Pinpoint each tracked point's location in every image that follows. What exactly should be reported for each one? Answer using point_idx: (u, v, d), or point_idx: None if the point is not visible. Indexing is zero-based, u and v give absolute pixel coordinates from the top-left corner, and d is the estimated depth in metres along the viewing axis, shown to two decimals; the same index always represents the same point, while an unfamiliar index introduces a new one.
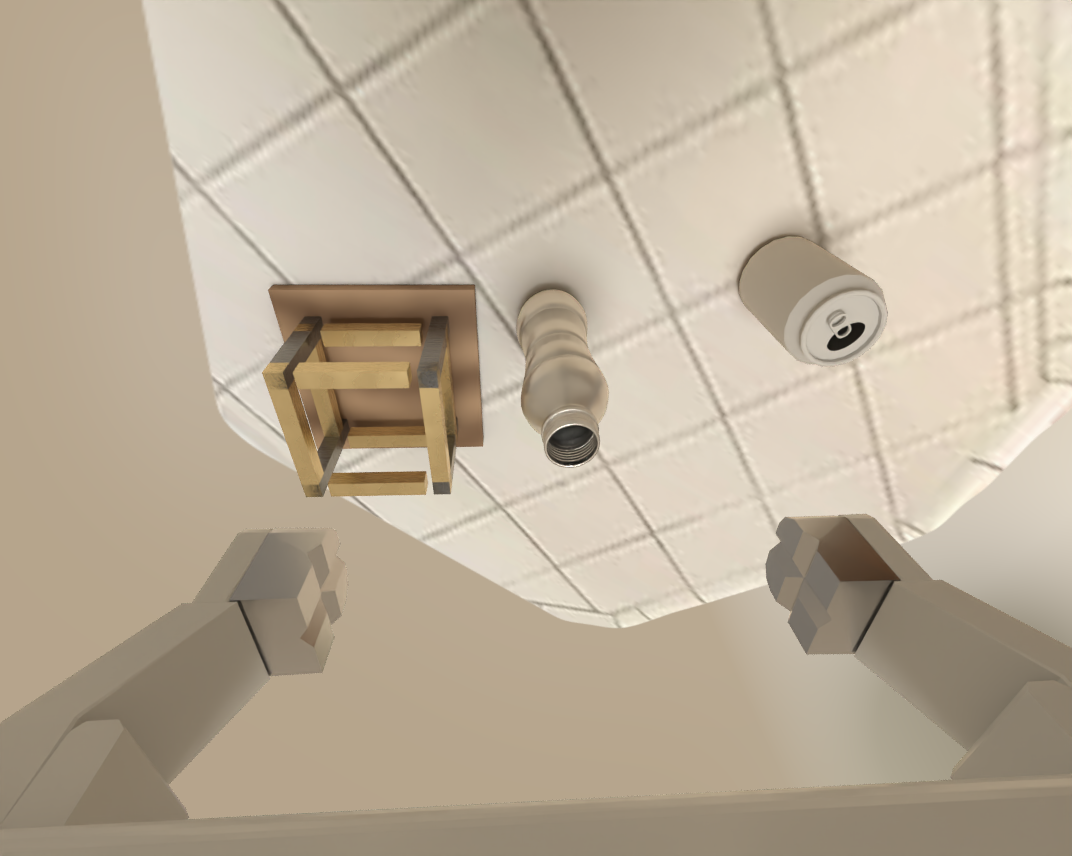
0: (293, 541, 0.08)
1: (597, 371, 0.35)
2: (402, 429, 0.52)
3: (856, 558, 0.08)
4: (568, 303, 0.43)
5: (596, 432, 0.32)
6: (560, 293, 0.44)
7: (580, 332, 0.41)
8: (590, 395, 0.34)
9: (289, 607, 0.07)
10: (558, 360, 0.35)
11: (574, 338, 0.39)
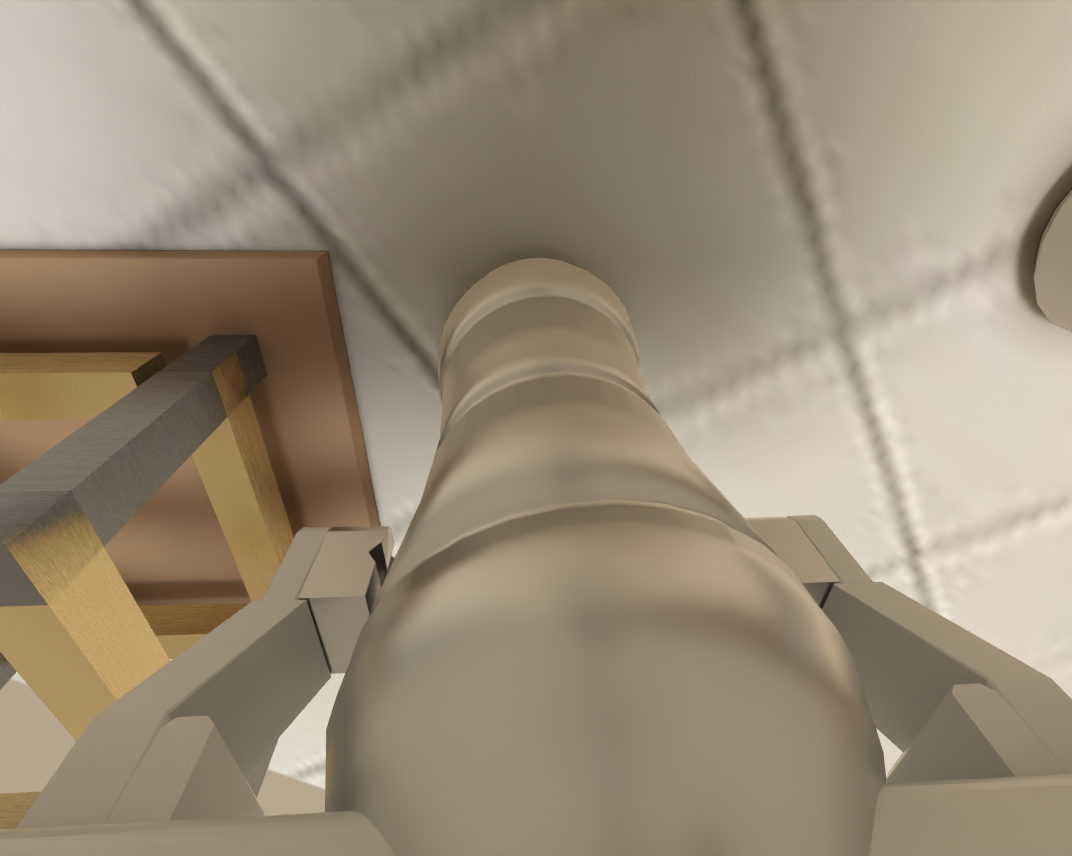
0: (353, 539, 0.08)
1: (824, 629, 0.05)
2: (176, 614, 0.21)
3: (798, 560, 0.08)
4: (584, 286, 0.14)
5: None
6: (560, 262, 0.15)
7: (633, 373, 0.11)
8: None
9: (356, 605, 0.07)
10: (549, 561, 0.05)
11: (622, 396, 0.09)
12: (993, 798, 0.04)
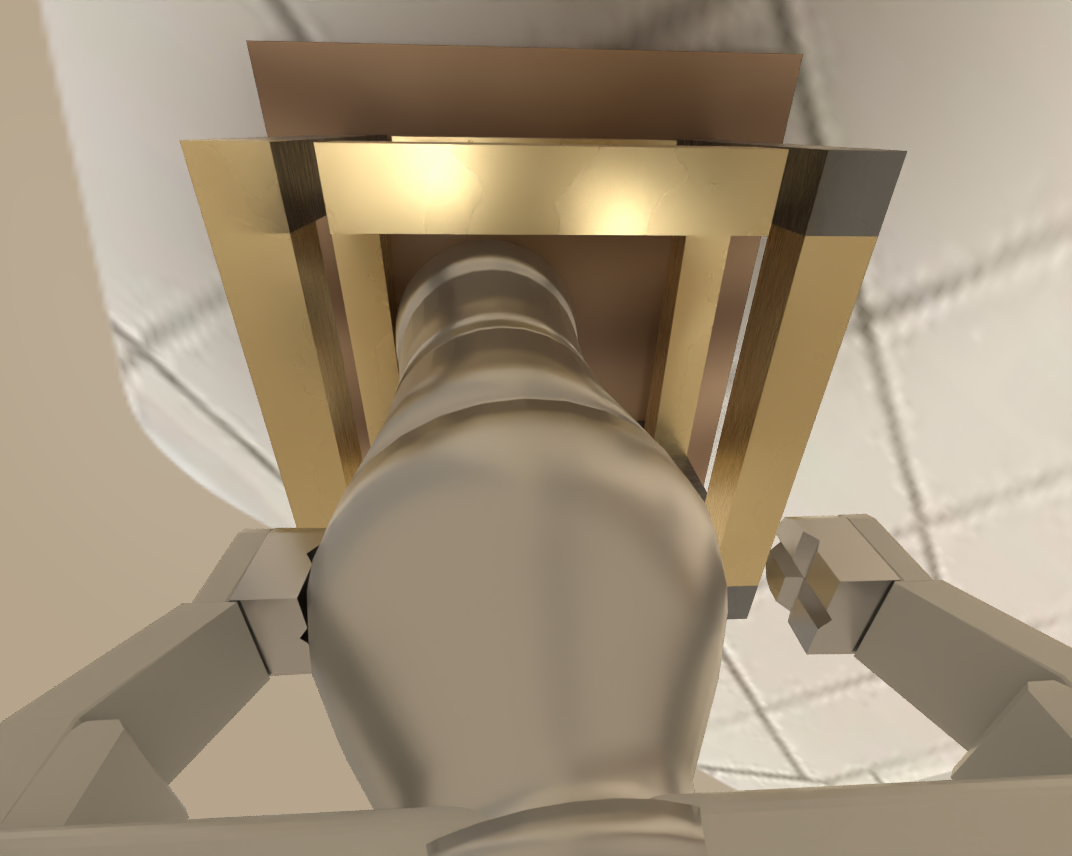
0: (293, 541, 0.08)
1: (675, 475, 0.07)
2: None
3: (856, 559, 0.08)
4: (522, 260, 0.16)
5: None
6: (501, 241, 0.17)
7: (563, 330, 0.13)
8: (668, 641, 0.05)
9: (289, 607, 0.07)
10: (467, 432, 0.06)
11: (546, 341, 0.11)
12: (993, 798, 0.04)
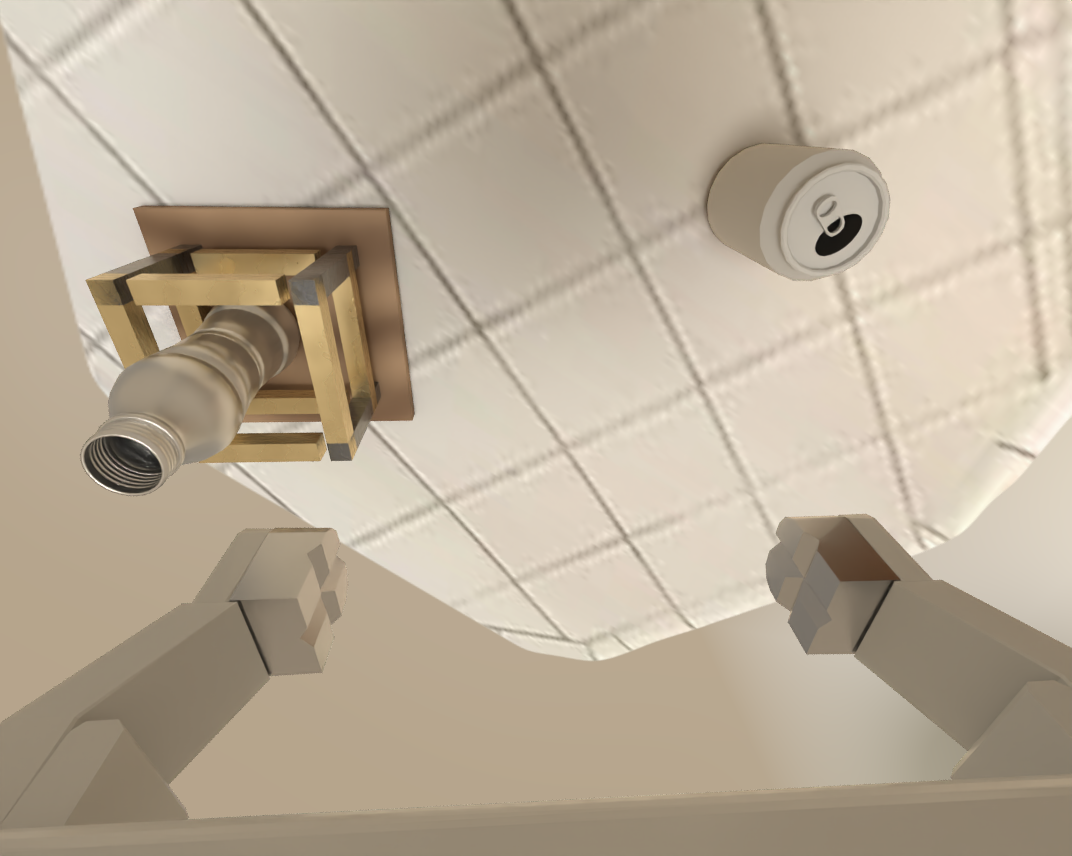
0: (293, 541, 0.08)
1: (201, 371, 0.27)
2: (307, 392, 0.42)
3: (856, 559, 0.08)
4: None
5: (149, 445, 0.24)
6: None
7: (247, 334, 0.34)
8: (174, 400, 0.26)
9: (289, 607, 0.07)
10: (145, 359, 0.27)
11: (216, 338, 0.31)
12: (993, 798, 0.04)
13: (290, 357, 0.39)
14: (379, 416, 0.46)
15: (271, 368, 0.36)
